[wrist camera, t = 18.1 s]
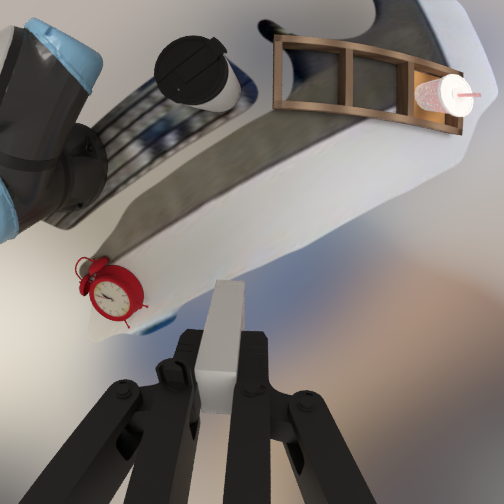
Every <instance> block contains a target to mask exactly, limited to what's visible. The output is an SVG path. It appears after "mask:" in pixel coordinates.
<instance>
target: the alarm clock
mask: <svg viewBox="0 0 504 504" xmlns="http://www.w3.org/2000/svg"><path fill="white" fill-rule="evenodd" d="M83 258H85V259H88V260H90V261H91V262H93V263H92V264H91V265H90V267H89V274H87V275H85V276H84V277H83V279H81V278H80V277H79V275H78V274H77V271H76V267H77V264H78V262H79V261H80V260H81V259H83ZM93 260H94V261H92V260H91V259H89V258H87V257H82V258H80V259H79V260H78V262H77V263H76V266H75V272H76V275H77V276H78V277H79V278H80V279H81V281H80V282H79V283H80V287H79V290H80V293H81V295H83V296H86V295H87V294H88V293H89V296H90V300H91V302H92V304H93V306H94V308H95V309H96V310H97V311H98V312H99V313H100V314H101V315H102V316H104V317H105V318H107V319H109V320H112V321H125V323H126V324H127V322H126V319H128V318H129V317H130V316H131V315H132V314H133V313H134V312H136V311H137V310H138V309H141V308H142V306H145V307H146V308H148V305H147V306H146V305H143V304H142V303H143V299H144V294H143V289H142V286H141V284H140V282H139V281H138V279H137V278H136V277H135V276H134V275H133V274H132V273H131V272H130V271H128V270H127V269H125V268H123V267H120V266H116V265H108V266H105V265H106V264H107V263H108V262H109V260H108V259H107V258H106V257H101V258H99V259H97V260H95V259H94V258H93ZM103 266H105V267H103ZM102 267H103V268H102ZM98 270H99V271H98ZM97 271H98V272H97ZM93 273H96V276H95V277H94V276H93V275H92V274H93ZM90 276H93V277H94V278H95V279H94V281H92V280H90V279H89V277H90ZM89 281H92V283H90V282H89ZM141 305H142V306H141ZM127 326H128V324H127ZM128 328H130V326H128Z"/></svg>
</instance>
